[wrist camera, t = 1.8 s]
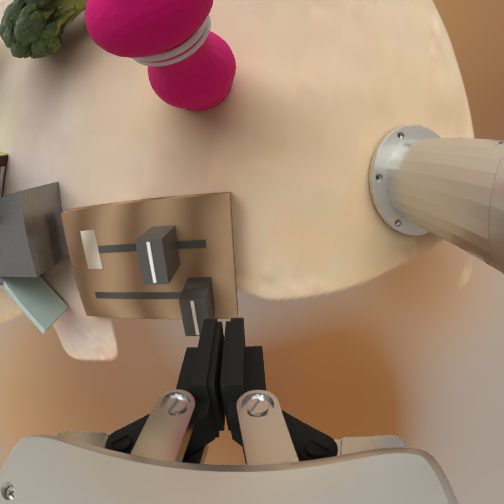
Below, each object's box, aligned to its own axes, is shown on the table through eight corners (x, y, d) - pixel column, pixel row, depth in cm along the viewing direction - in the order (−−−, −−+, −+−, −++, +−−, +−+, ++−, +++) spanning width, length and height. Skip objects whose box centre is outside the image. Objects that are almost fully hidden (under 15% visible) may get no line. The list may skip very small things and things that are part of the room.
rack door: (69, 305, 30) (44, 330, 24) (64, 312, 30) (41, 337, 24) (26, 256, 27) (-2, 274, 21) (22, 265, 28) (-5, 283, 22)
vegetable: (124, 32, 18) (-5, 88, 12) (113, 28, 24) (18, 66, 18) (124, -60, 8) (-19, -3, 3) (112, -38, 14) (9, 0, 8)
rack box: (58, 181, 25) (19, 191, 18) (70, 254, 28) (37, 277, 21) (15, 193, 25) (-20, 204, 18) (27, 257, 28) (-4, 277, 21)
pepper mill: (218, 40, 21) (180, -104, 2) (249, 95, 23) (260, -39, 4) (154, 73, 22) (28, -19, 3) (182, 128, 24) (45, 78, 5)
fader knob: (175, 225, 25) (161, 239, 21) (180, 264, 26) (168, 284, 22) (151, 226, 25) (134, 240, 21) (157, 265, 26) (142, 285, 22)
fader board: (230, 192, 26) (225, 202, 20) (238, 308, 30) (236, 344, 24) (70, 209, 26) (36, 223, 20) (93, 307, 30) (70, 335, 24)
